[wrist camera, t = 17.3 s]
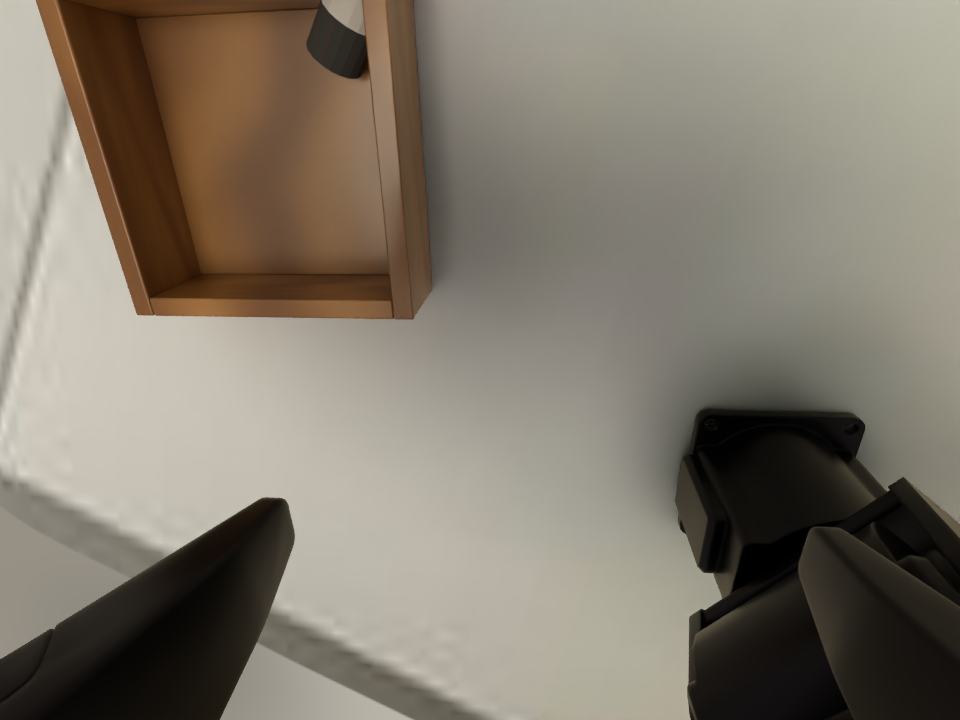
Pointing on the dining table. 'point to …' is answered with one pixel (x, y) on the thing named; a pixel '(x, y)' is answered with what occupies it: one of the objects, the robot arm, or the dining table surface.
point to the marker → (339, 37)
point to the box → (250, 156)
